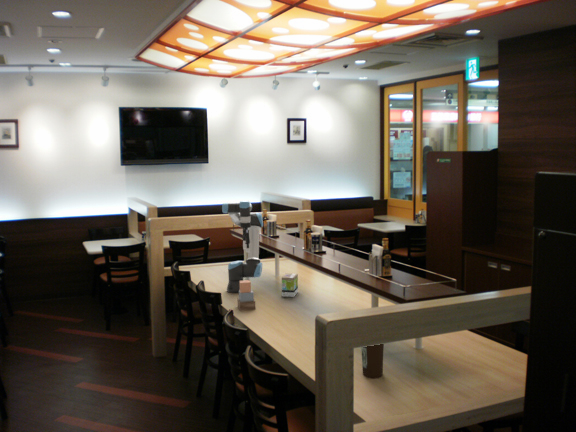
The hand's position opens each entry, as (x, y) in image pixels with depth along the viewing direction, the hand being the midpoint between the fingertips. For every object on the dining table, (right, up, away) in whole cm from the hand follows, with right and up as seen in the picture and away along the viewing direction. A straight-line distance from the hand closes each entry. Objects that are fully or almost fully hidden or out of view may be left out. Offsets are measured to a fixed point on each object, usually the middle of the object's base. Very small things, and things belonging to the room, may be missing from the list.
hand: (246, 250), depth 379 cm
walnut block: (+1, -39, -17) cm, 42 cm away
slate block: (+1, -33, -17) cm, 37 cm away
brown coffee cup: (+71, -50, -133) cm, 159 cm away
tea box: (+32, -35, +16) cm, 50 cm away
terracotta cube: (+1, -27, -18) cm, 32 cm away
